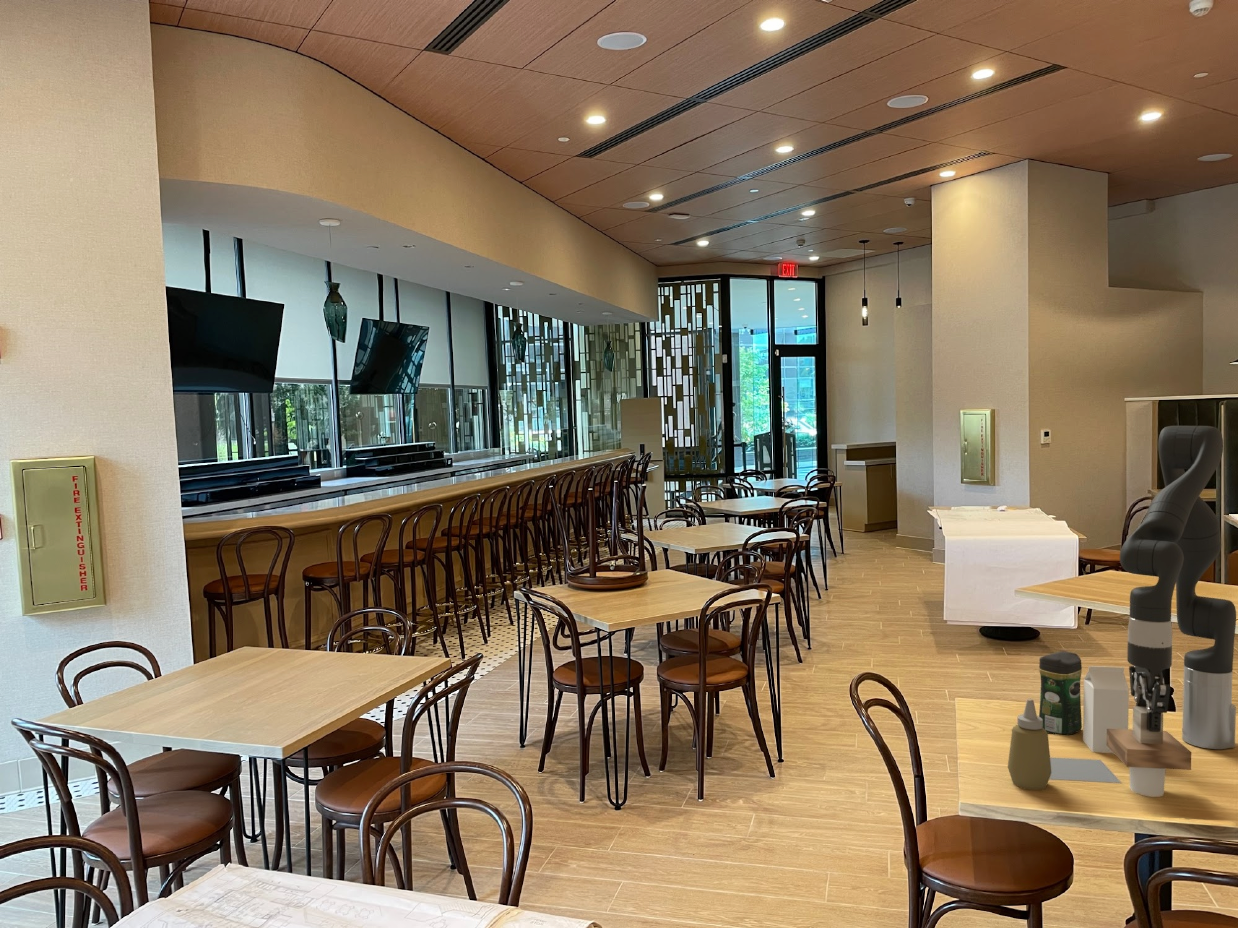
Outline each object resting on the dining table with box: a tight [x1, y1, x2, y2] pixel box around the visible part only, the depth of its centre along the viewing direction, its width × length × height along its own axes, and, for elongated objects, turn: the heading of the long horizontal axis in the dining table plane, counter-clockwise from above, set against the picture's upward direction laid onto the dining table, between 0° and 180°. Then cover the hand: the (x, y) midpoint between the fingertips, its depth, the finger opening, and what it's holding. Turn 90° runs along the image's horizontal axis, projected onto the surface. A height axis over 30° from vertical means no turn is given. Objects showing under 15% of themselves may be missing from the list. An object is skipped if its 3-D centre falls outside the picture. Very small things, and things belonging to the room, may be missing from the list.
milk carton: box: [1082, 665, 1130, 754], centre depth 199 cm, size 7×7×19 cm
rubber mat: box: [1049, 756, 1122, 784], centre depth 187 cm, size 14×12×1 cm
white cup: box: [1128, 767, 1167, 798], centre depth 176 cm, size 7×7×10 cm
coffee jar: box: [1038, 650, 1083, 736], centre depth 212 cm, size 10×8×19 cm
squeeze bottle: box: [1007, 698, 1052, 791], centre depth 180 cm, size 8×8×18 cm
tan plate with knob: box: [1106, 705, 1192, 771], centre depth 176 cm, size 11×11×10 cm
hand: (1147, 725), depth 176 cm, fingers open, 4 cm apart
